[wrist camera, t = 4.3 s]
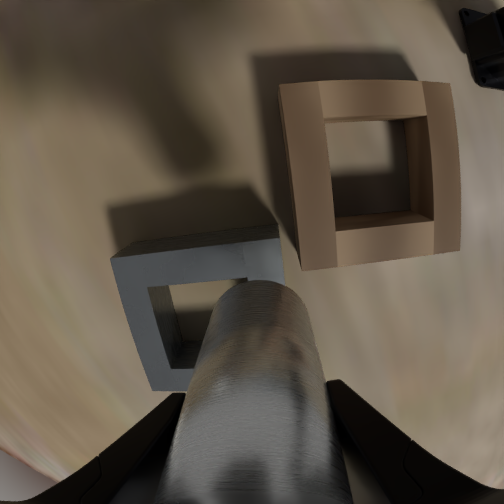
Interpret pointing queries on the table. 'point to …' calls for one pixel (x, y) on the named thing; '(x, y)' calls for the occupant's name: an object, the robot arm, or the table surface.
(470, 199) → the table surface
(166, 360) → the block
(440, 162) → the socket block
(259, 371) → the metal cylinder peg
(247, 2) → the table surface
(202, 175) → the table surface
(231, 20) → the table surface
